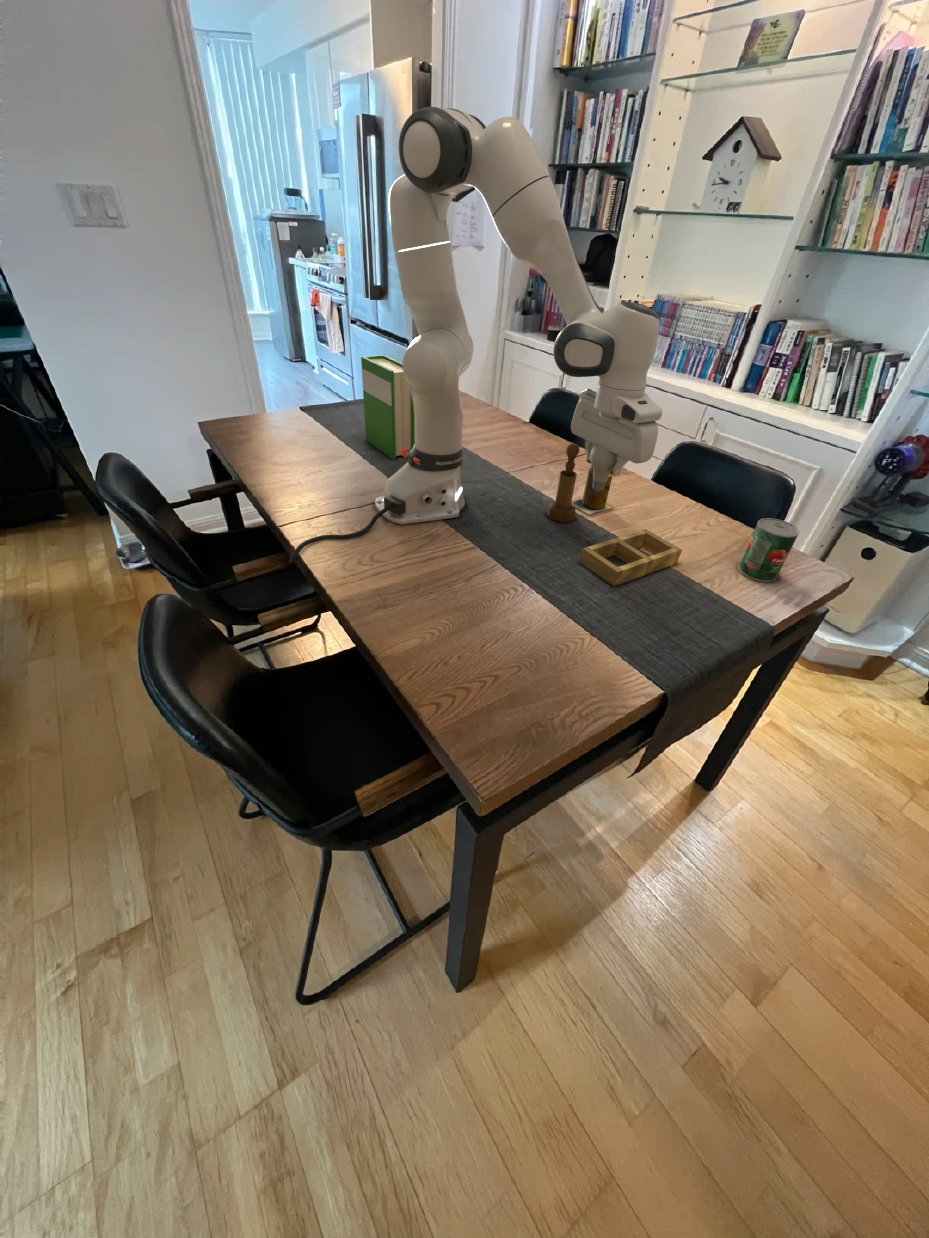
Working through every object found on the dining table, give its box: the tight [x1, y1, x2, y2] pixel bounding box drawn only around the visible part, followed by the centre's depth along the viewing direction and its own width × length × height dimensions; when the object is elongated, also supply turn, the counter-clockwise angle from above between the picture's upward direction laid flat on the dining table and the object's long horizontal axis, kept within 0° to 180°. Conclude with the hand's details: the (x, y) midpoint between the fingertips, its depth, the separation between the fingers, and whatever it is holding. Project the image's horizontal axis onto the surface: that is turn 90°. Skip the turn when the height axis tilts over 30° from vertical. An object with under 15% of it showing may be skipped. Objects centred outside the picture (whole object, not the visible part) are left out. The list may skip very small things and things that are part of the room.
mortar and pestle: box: [546, 442, 580, 523], centre depth 125 cm, size 7×6×18 cm
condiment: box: [571, 464, 614, 515], centre depth 133 cm, size 7×8×12 cm
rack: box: [579, 528, 683, 587], centre depth 114 cm, size 19×10×4 cm, turn 122°
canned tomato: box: [737, 517, 800, 583], centre depth 111 cm, size 8×8×11 cm
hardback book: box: [360, 354, 415, 460], centre depth 153 cm, size 18×7×24 cm, turn 34°
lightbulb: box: [590, 444, 619, 492], centre depth 111 cm, size 6×6×11 cm
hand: (602, 468), depth 111 cm, fingers closed on lightbulb, 6 cm apart
